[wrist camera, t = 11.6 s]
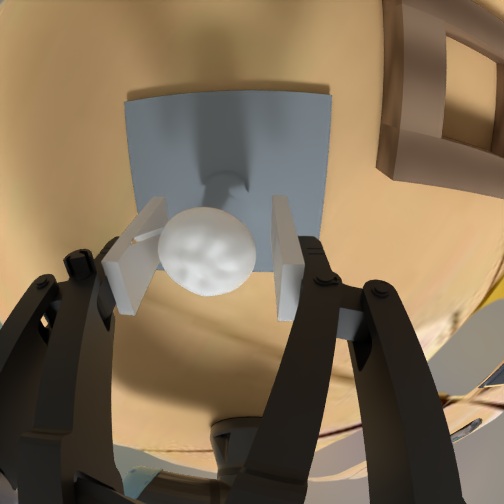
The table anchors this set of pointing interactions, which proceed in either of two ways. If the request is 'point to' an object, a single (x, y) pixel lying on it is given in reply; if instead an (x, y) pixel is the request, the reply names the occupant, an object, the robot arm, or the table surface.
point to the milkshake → (209, 238)
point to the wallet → (494, 379)
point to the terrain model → (465, 430)
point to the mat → (234, 152)
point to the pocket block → (436, 96)
